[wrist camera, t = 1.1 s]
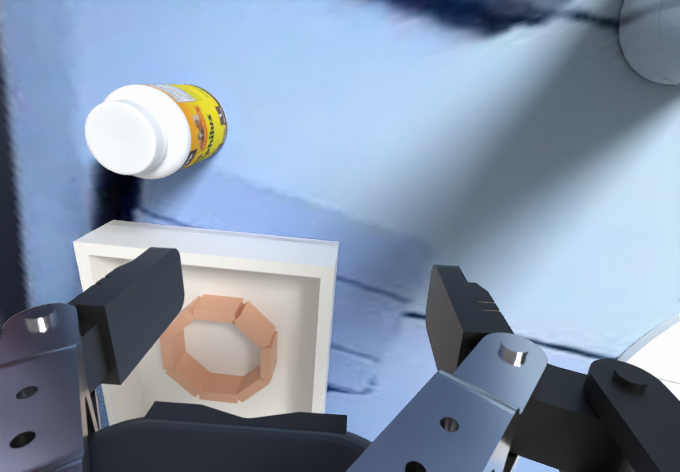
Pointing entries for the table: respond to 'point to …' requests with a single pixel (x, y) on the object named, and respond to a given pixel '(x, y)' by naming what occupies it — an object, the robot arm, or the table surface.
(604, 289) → the table surface
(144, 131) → the supplement bottle
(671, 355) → the white round slatted board
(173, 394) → the walled box
